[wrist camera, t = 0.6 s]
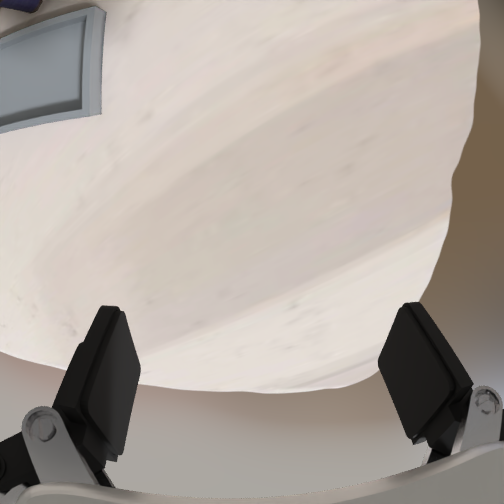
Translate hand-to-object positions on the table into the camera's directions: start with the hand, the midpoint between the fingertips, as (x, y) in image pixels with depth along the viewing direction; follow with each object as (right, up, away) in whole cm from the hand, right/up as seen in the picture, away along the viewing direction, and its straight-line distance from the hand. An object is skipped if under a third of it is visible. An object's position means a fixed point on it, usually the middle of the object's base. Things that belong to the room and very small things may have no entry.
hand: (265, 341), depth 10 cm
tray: (-30, +26, +18) cm, 43 cm away
